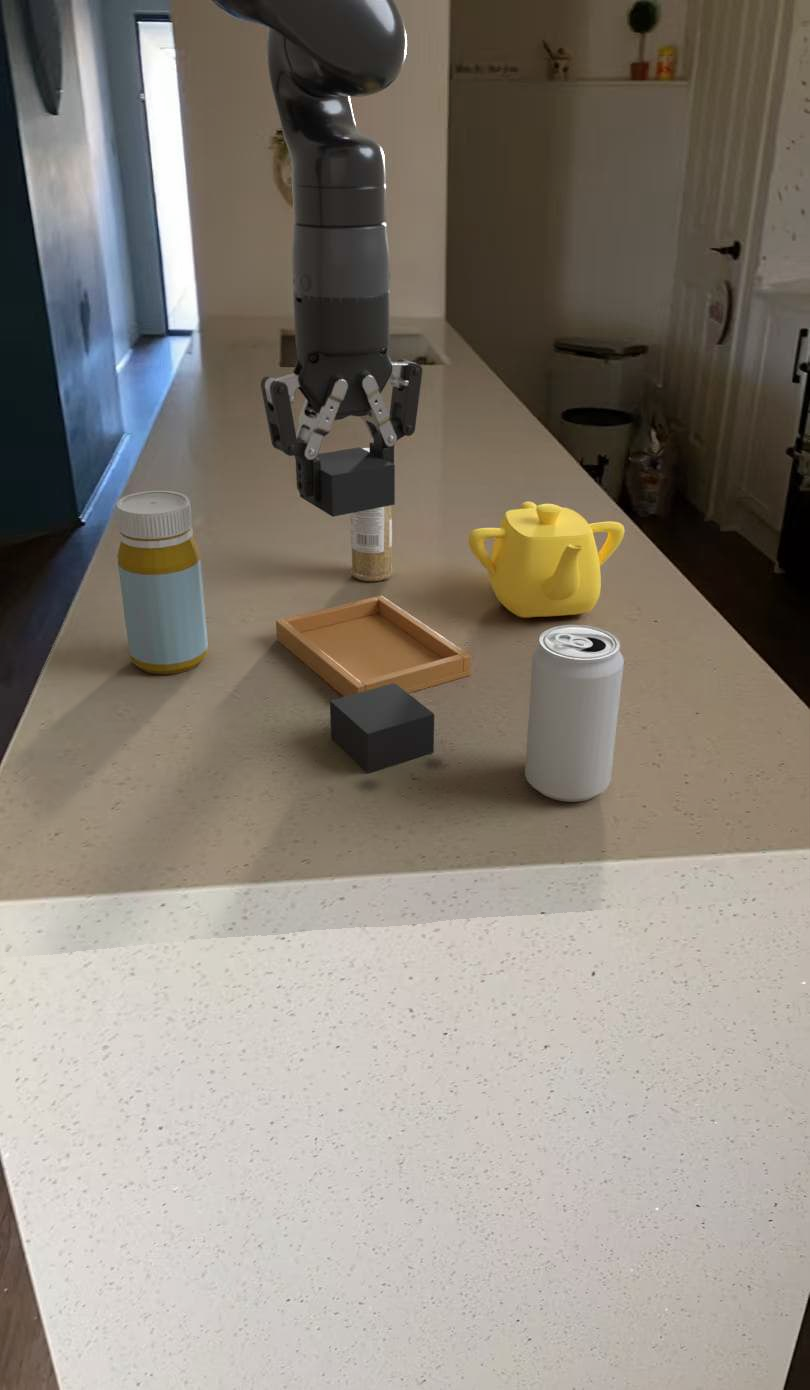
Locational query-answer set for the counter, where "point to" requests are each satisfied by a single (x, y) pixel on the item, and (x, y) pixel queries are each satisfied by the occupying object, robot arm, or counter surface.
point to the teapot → (545, 559)
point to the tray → (372, 647)
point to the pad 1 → (354, 482)
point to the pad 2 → (382, 727)
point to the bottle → (161, 582)
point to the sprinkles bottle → (371, 543)
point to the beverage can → (573, 712)
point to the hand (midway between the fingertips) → (346, 492)
